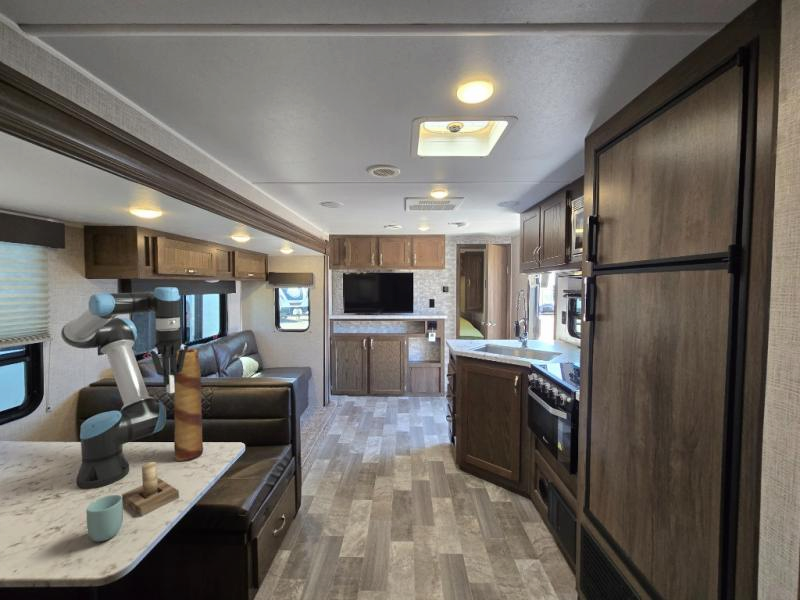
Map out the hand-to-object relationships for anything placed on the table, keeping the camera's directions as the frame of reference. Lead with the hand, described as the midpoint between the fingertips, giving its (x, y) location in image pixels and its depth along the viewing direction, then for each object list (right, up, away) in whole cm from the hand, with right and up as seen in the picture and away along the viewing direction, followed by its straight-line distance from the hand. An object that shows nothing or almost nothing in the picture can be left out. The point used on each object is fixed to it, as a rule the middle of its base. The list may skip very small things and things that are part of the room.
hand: (170, 392), depth 129 cm
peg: (+1, -33, -12) cm, 35 cm away
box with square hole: (+1, -33, -12) cm, 35 cm away
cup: (0, -34, -28) cm, 44 cm away
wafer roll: (-4, -32, +18) cm, 36 cm away
